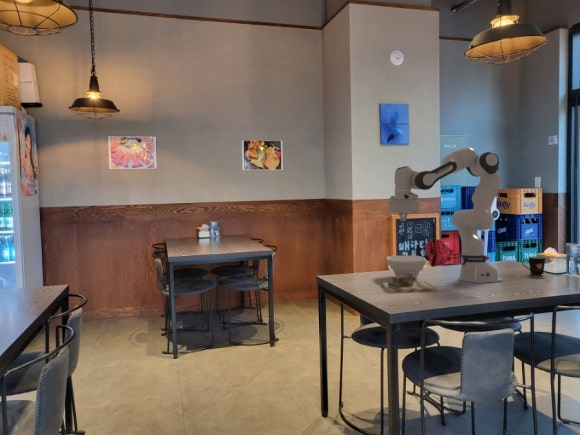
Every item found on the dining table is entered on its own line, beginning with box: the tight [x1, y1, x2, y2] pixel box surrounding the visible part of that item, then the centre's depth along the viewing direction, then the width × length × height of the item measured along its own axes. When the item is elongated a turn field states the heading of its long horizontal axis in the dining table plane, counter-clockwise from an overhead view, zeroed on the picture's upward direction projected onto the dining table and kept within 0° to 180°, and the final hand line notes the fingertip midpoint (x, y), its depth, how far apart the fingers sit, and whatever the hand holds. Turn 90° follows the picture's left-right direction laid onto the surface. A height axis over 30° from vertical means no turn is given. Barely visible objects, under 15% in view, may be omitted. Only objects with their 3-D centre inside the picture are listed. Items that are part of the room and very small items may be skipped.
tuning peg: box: [392, 272, 414, 286], centre depth 242 cm, size 12×4×6 cm, turn 118°
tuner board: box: [380, 281, 438, 294], centre depth 243 cm, size 24×18×4 cm
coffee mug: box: [522, 256, 546, 276], centre depth 273 cm, size 12×9×10 cm
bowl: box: [386, 255, 427, 279], centre depth 272 cm, size 22×22×12 cm
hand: (403, 220), depth 260 cm, fingers closed
